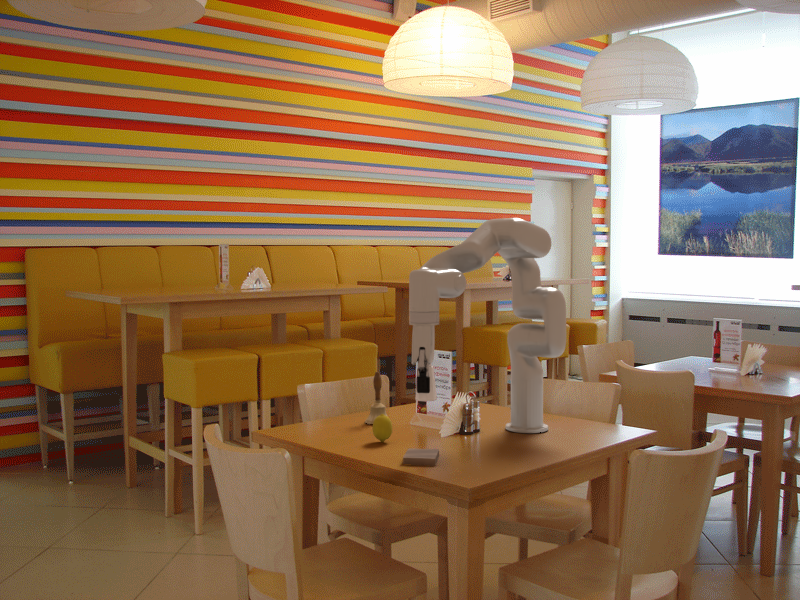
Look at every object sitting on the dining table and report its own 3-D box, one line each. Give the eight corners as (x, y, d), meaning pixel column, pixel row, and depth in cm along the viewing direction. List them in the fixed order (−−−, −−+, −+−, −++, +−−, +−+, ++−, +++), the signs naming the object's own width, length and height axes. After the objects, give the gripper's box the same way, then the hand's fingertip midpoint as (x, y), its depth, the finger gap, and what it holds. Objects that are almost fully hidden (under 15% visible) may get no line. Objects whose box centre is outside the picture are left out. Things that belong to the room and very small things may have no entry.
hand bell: (391, 425, 236) (390, 373, 235) (364, 425, 236) (363, 373, 235) (391, 419, 244) (391, 370, 244) (365, 419, 244) (365, 370, 244)
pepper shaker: (410, 399, 193) (410, 356, 192) (425, 397, 197) (425, 354, 196) (426, 402, 189) (426, 357, 188) (441, 399, 193) (441, 356, 192)
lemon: (385, 445, 209) (385, 416, 208) (368, 443, 212) (368, 414, 211) (396, 441, 213) (396, 413, 213) (379, 439, 216) (379, 411, 216)
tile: (408, 448, 198) (403, 457, 188) (439, 449, 197) (435, 458, 187) (408, 455, 198) (403, 465, 188) (439, 456, 197) (435, 466, 187)
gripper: (413, 316, 201) (413, 386, 201) (405, 320, 184) (405, 396, 185) (441, 316, 200) (441, 386, 200) (436, 321, 183) (436, 397, 184)
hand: (424, 390), depth 193 cm, fingers closed on pepper shaker, 4 cm apart
